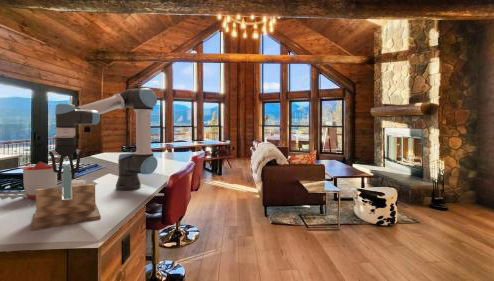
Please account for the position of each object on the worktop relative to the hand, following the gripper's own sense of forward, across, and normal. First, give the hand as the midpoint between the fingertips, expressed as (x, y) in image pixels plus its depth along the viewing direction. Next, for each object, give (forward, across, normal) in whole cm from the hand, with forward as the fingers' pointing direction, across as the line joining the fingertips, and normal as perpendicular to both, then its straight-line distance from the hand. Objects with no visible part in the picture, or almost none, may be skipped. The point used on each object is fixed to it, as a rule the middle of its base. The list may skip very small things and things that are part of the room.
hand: (66, 186), depth 124 cm
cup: (+13, +3, +23) cm, 26 cm away
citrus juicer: (+13, -12, +40) cm, 43 cm away
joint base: (+12, 0, -6) cm, 14 cm away
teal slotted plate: (+2, 0, -7) cm, 7 cm away
